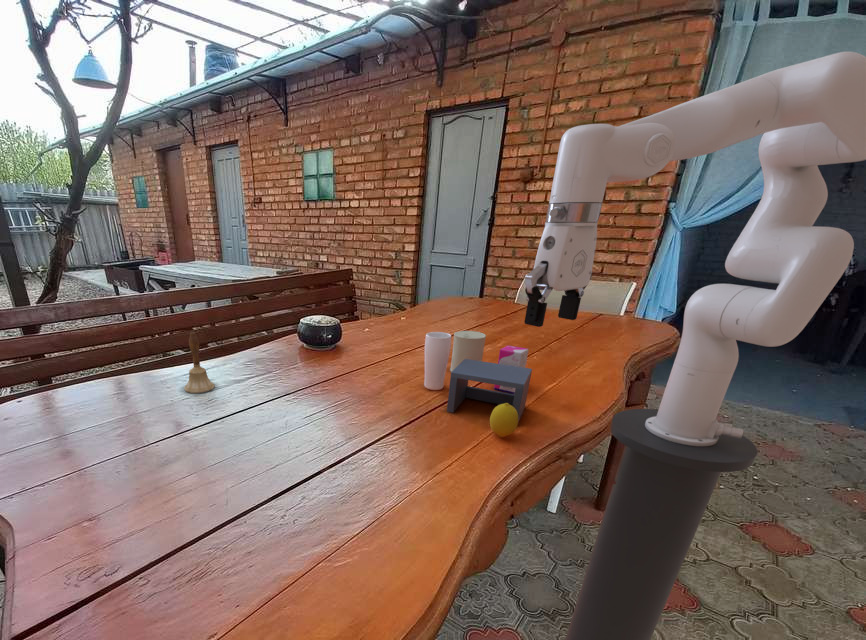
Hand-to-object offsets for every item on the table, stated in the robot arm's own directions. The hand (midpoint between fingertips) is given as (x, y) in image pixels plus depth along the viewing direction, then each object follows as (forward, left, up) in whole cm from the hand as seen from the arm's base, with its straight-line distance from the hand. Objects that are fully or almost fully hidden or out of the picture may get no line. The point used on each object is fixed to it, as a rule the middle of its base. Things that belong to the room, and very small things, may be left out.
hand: (550, 321), depth 75 cm
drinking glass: (+27, -25, -27) cm, 46 cm away
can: (+23, -43, -27) cm, 56 cm away
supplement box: (+9, -34, -27) cm, 44 cm away
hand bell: (+84, +8, -27) cm, 89 cm away
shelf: (+11, -17, -26) cm, 33 cm away
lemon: (+5, -4, -27) cm, 27 cm away
